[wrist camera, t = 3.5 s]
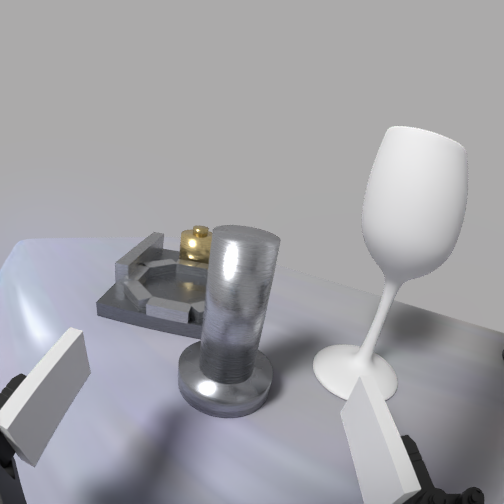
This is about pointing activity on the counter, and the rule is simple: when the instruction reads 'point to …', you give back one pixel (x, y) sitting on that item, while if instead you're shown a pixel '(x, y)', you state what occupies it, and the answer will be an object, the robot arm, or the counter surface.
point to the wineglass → (401, 238)
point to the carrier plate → (161, 285)
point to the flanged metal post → (232, 326)
